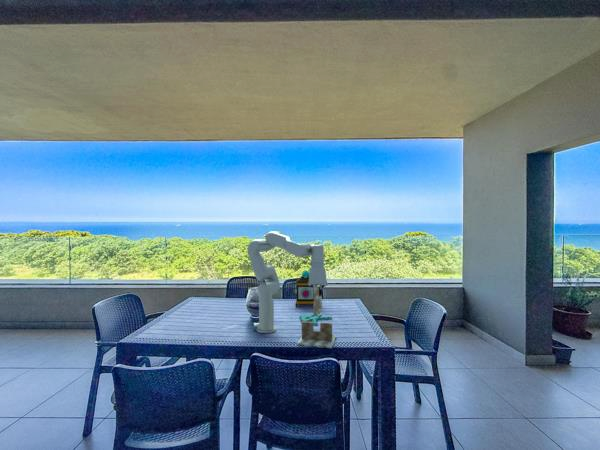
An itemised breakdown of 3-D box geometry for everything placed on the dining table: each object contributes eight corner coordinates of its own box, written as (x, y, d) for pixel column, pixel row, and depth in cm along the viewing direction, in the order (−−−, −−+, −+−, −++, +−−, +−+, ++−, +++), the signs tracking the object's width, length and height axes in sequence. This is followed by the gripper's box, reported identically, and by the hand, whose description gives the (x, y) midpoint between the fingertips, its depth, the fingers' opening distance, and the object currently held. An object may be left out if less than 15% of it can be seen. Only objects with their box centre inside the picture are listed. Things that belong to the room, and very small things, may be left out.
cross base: (297, 345, 185) (297, 325, 185) (304, 334, 203) (304, 316, 203) (331, 348, 181) (331, 328, 181) (335, 337, 198) (335, 319, 198)
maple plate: (313, 315, 186) (313, 287, 187) (318, 311, 201) (318, 285, 202) (317, 316, 185) (317, 287, 187) (321, 311, 201) (321, 285, 202)
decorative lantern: (295, 302, 288) (295, 268, 288) (317, 302, 287) (317, 268, 287) (293, 308, 268) (293, 272, 268) (317, 308, 267) (317, 272, 267)
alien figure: (332, 319, 237) (310, 315, 249) (332, 316, 237) (310, 312, 249) (315, 326, 221) (293, 321, 234) (315, 323, 221) (293, 317, 234)
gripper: (303, 265, 192) (303, 296, 192) (329, 266, 189) (330, 297, 188) (306, 264, 200) (306, 294, 199) (331, 264, 196) (331, 295, 196)
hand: (317, 295), depth 194 cm, fingers closed on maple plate, 2 cm apart
